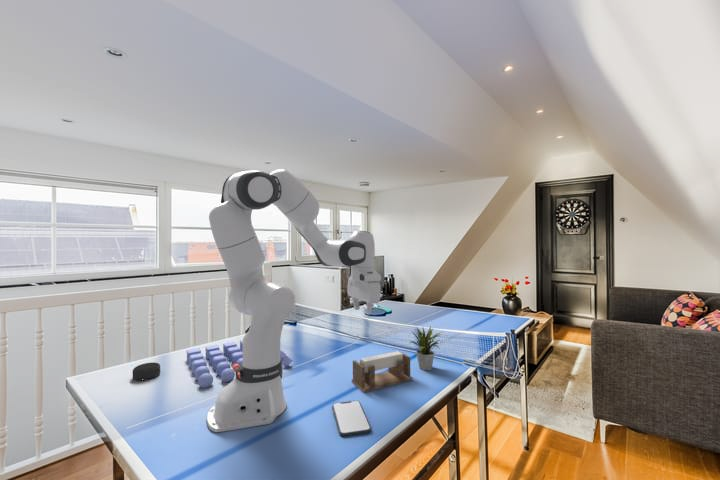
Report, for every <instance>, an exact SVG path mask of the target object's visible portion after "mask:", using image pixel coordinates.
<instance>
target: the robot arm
mask: <svg viewBox="0 0 720 480" xmlns="http://www.w3.org/2000/svg"><path fill="white" fill-rule="evenodd" d="M272 204H273V205H274V206H275V207H276V208H277V209H278V211H280V212H281V213H282V214H283V215H284V216H285V217H286V218H287V219H288V220H289V221H290V222H291V223H292V225H293V227H294V229H296V231H297V232H298V234H300V236H301V237H302V238H303V239H304V241H306V242H307V244H308V245H309V246H310V247H311V249H312V250H313V252H314V255H315V257H316V259H317V261H318V263H320V264H321V265H323V266H325V267H345V268H347V267H348V268H349V267H350V276H349V277H348V280H347V291H346V293H347V296H348V297H350V298H352V303H353V309H354V310H355V311H356V310H358V311H359V310H360V307H361V304H359V303H360V302H359V300H360V301H362V302H365V303H366V304H365V305H366V308H365V312H364V314H365V315H371V314H372V310H373V307H374V304H379V302H380V301H381V289H382V288H381V287H382V286H381V283H380V282H381V281H382V275H381V274H379V273H378V272H377V270H376V269H375V262H374V261H375V260H374V259H375V255H376V254H375V253H376V251H375V250H376V248H375V239H374V235H373V234H372V232H369V231H365V230H354V231H353V232H352V234H350V235H349V236H347V237H345V238H343V239H332V238H328V237H327V236H326V235H324V233H323V232H322V231H321V229H320V228H319V227H318V226H317V225H316V223H315V220H316V219H317V217H318V215H319V212H320V204H319V201H318V199H317V198H316V197H315V195H314V194H313V192H311V190H309V189H308V187H307V186H306V185H305V184H304V183H303V182H302V181H301V180H299V178H298V177H296V176H295V175H294V174H293V173H291V172H290V171H289V170H286V169H283V168H281V169H276V170H274V171H272V172H270V173H268V172H264V171H262V170H257V169H255V170H254V169H252V170H242V171H238V172H236V173H233V174H231V175H229V176H228V177H227V178H226V179H225V180H224V183H223V184H222V190H221V198H220V204H218V205H216V206H215V207H213V208H212V209H211V210H210V212H209V215H208V220H209V226H210V229H211V233H212V236H213V239H214V240H213V241H214V242H215V244H216V248H217V250H218V252H219V254H220V257H221V259H222V262H223V264H224V266H225V268H226V270H227V271H226V272H227V274H228V279H229V284H230V290H229V295H228V299H229V303H230V305H231V306H232V307H233V308H234V309H235V310H236V311H238V312H240V313H241V314H244V315H247V316H250V325H249V329H248V332H247V333H246V334H245V335H244V336H243V338H242V340H243V341H242V345H243V363H242V364H241V365H240V366H239V365H238V364H237V363H236V364H234V365H233V364H232V367H231V369H232V370H233V371H234V373H235V377H234V379H233V380H232V381H230V382H228V384H227V385H225V386H224V387H223V388H222V389H221V390H219V392H218V394H217V397H216V401H215V404H214V406H212V407H211V408H210V409H209V410H208V411H207V415H206V424H207V427H208V429H209V430H210V431H211V432H213V433H220V432H226V431H227V432H228V431H233V430H239V429H246V428H251V427H257V426H263V425H269V424H272V423H273V422H274V421H275V419H276V418H277V417H278V416H280V415H281V414H282V413H283V412H284V411H285V410H286V408H287V401H286V399H285V395H284V389H283V382H282V379H283V364H282V360H281V359H280V348H281V344H282V343H281V339H282V332H283V328H284V325H285V323H286V320H287V318H289V317H290V316H291V315H292V313H293V312H294V310H295V307H296V297H295V294H294V292H293V290H292V289H291V288H289V287H287V286H286V285H284V284H282V283H279V282H272V281H267V280H266V278H265V277H264V272H263V271H264V269H263V265H264V263H265V261H266V257H265V253H264V250H263V248H262V246H261V244H260V241H259V238H258V236H257V233H256V231H255V228H254V226H253V224H252V212H253V211H255V210H262V209H266V208H267V207H269V206H270V205H272Z"/></svg>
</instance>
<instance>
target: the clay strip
mask: <svg viewBox="0 0 720 480" xmlns="http://www.w3.org/2000/svg"><path fill="white" fill-rule="evenodd" d="M402 353H403V352H401V351H400V352H399V351H398V350H397V351H392V352H388V353H382V354H377V355H373V356H368V357H367V356H366V357H362V358H360V360H359V363H360V364H361V365H362V366H364V367H365V373H368V366H373V365H374V366H375V372H376V371H381V370H386V369H388V368H390V367H394V366H397V360H401V359H403V354H404V353H403V354H402Z"/></svg>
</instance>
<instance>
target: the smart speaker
mask: <svg viewBox="0 0 720 480" xmlns="http://www.w3.org/2000/svg"><path fill="white" fill-rule="evenodd" d="M160 374H161V364H160V363H158V362H146V363H142V364H139V365H136V366H135V367H134V368H133V369H132V379H133V380H135V379H136V380H135V381H143V380H142V379H148V380H150V379H149V378H151V379H154V378H155V376H156V377H158V376H159V375H160ZM157 375H158V376H157ZM153 377H154V378H153Z"/></svg>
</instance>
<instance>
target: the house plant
mask: <svg viewBox="0 0 720 480" xmlns="http://www.w3.org/2000/svg"><path fill="white" fill-rule="evenodd" d="M416 330H417V333H416V334H415V332H413V331H411V333H412V334H413V335H414V336H415V338H416V339H417V341H415V340H414V341H413V340H411V341H409V343H410V344H414V345H416V346H417V347H418V349H417V350H415V351H416V352H415V353H416V359H417V365H418V368H419V369H420V370H423V371H430V370H432V369H433V364H434V358H435V357H434V356H435V352H434V350H432V349H434V348H435V347H437V348H438V349H440V346H438V344H439V342H441V341H442V340H440V339H439V340H436V341H435V338H437V337H438V338H439V336H442V334H441V333H443V331H440V332H437V333H436V334H434V335H433V331H434V328H432V326H430V327H429V328H428V331H427V333H426V332H425V328H424V326H423V325H422V331H421V330H420V329H419V328H418V327H416Z"/></svg>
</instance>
